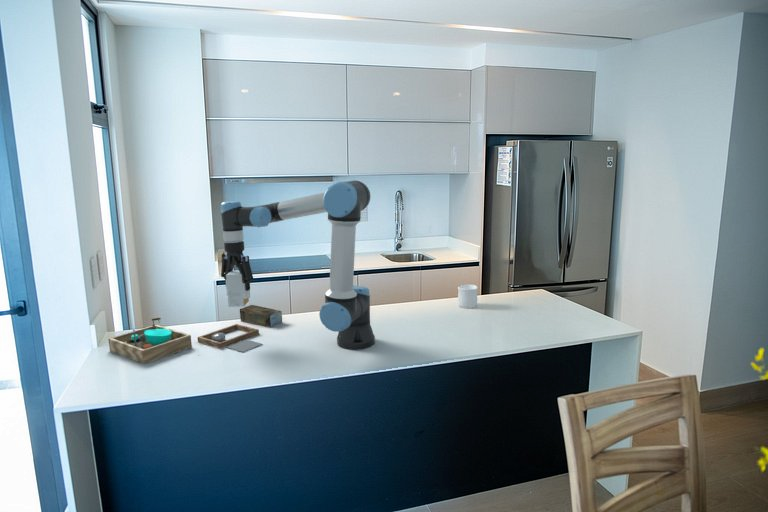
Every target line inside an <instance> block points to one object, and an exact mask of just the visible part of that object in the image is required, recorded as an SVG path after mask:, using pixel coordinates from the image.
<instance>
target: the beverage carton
mask: <svg viewBox="0 0 768 512" xmlns="http://www.w3.org/2000/svg"><path fill="white" fill-rule="evenodd" d="M282 314H283V311H282V310H279V309H275V308H269V307H265V306H261V305H260V306H259V305H255V304H250V305H247V306H246V305H245V306H243V307H241V308H240V309H239V317H240V318H239V319H240V322H245V323H248V324H253V325H258V326H262V327H267V328H273V327H276V326H278V325H281V324H283V315H282Z"/></svg>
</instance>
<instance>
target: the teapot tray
mask: <svg viewBox="0 0 768 512" xmlns="http://www.w3.org/2000/svg"><path fill="white" fill-rule="evenodd" d="M153 329H168V330H170V331H171V332H172V334H171V338H170V340H171V341H168V342H165V343H162V344H159V345H156V346H153V347H150V348H147V349H141V348H138V347H136V346H133V345H130V344H129V342H128V340H129V339H130V340H131V336H132V335H134V334H133V330H132V331H130V332H126V333H125V332H124V333H122V334H118V335H117V336H113V337H109V338H108V347H109V351H110V352H111V353H115V354H118V355H121V356H123V357H125V358H128V359H130V360H134V361H137V362H138V363H141V364H144V365H145V364H148V363H150V362H151V363H152V362H154V361H157V360H159V359H162V358H165V357H167V356H170V355H173V354H177V353H179V352H182V351H184V350H189V349H191V348H192V347H193V346H192V335H191V334H189V333H185V332H182V331H178V330H176V329H171V328H170V327H169V328H168V327H165V326H161V325H158V324H155V326H153V325H150V326H146V327H143V328H140V329H135V335H138V336H140V335H142V334H144V332H145V331H146V330H153ZM145 341H147V340H146V338H145V337H143V338H142V342H145ZM125 342H126V343H125Z"/></svg>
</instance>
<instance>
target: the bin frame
mask: <svg viewBox="0 0 768 512" xmlns="http://www.w3.org/2000/svg"><path fill="white" fill-rule="evenodd" d="M236 330H239V331H241V332H245V333H243V334H242V333H241V334H240V335H237V336H235V337H231V338H229V339H225V340H226V341H223V342H217V341H213V340H212V335H213V334H215V333H225V334H226V333H230V332H232V331H233V332H234V331H236ZM257 335H260V329H258V328H255V327H252V326H247V325H243V324H238V323H235V324H232V325H230V326H225V327H223V328H221V329H217V330H215V331H211V332H209V333H206V334H203V335H200V336H197V343H201V344H204V345H207V346H210V347H214V348H217V349H220V350H221V349H222V348H226V346H229V345H232V344H234V343H237V342H239V341H242V340H245V339H247V340H248V339H250V338H252V337H255V336H257Z"/></svg>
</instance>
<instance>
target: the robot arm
mask: <svg viewBox="0 0 768 512" xmlns="http://www.w3.org/2000/svg"><path fill="white" fill-rule="evenodd" d="M370 202H371V191H370V190H369V187H368V186H367V185H366V184H365V183H364V182H362V181H359V180H348V181H339V182H336V183H333V184H331V185H329V187H328V188H327V189H326V191H325V192H320V193H316V194H311V195H306V196H302V197H301V196H300V197H297V198H296V197H295V198H292V199H287V200H281V201H278V202H277V201H276V202H271V203H268V204H261V205H256V206H242V203H241V201H236V200H229V201H223V202H222V203H221V204H220V207H221V208H220V209H221V210H220V211H221V213H220V215H221V221H222V222H221V223H222V235H223V236H222V237H223V241H224V242H223V247H224V252H225V253H222V254H221V259H222V260H221V270H220V271H221V273H220V277H221V278H223V279H224V281H225V282H224V283H225V287H226V289H225V290H226V296H227V297H228V292H227V281H226V275H227V274H228V273H229V272H231V271H234V268H235V267H236V268H237V270H239V272H240V274H242V279H243V281H244V282H242V285H243V298H244V299H247V298H249V299H251V282H252V281H254V276H253V271H252V269H251V268H252V267H251V263H250V256H249V255H245V254H244V253H243V252H244V251H245V242H244V240H245V239H244V227H257V228H263V227H268V226H269V224H272V223H278V222H282V221H286V220H292V219H297V218H302V217H308V216H314V215H317V214H323V213H327V221H328V222H329V223H330V224H331V238H330V239H331V241H330V265H329V266H330V267H329V288H328V290H326V291H325V294H324V304H323V305H322V306H321V308H319V315H318V316H319V319H320V322H321V324H322V325H323V326H324V327H325V328H326V329H327V330H329V331H331V332H335V333H337V332H338V333H337V337H336V344H337V346H339V347H341V348H343V349H347V350H362V349H366V348H370V347H372V346H373V345H375V343H376V340H375V339H376V337H375V334H374V332H373V328H372V325H371V295H370V289H369V288H368V287H366V286H362V285H354V270H355V253H356V249H355V248H356V231H357V224H358V223H360V222H361V217H362V215H361V214H362V211H364V210H365V209H366V208H367V207H368V206H369V204H370Z"/></svg>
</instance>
